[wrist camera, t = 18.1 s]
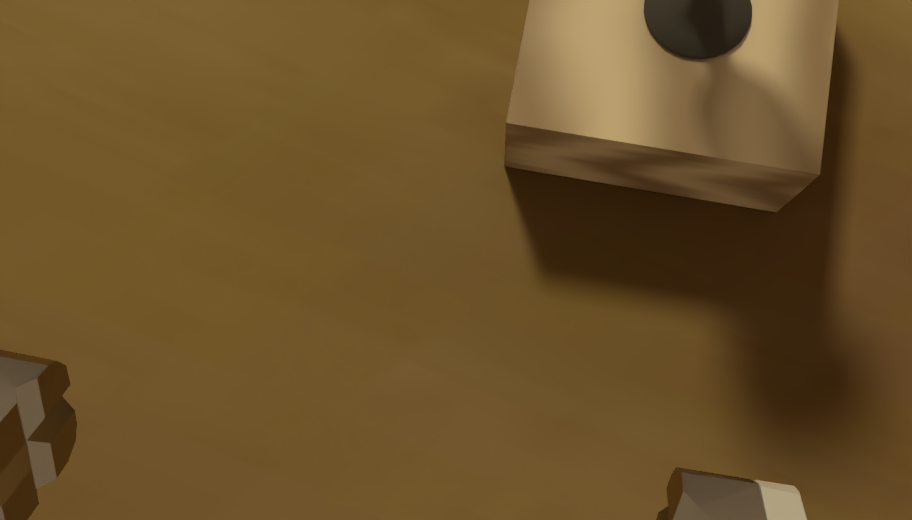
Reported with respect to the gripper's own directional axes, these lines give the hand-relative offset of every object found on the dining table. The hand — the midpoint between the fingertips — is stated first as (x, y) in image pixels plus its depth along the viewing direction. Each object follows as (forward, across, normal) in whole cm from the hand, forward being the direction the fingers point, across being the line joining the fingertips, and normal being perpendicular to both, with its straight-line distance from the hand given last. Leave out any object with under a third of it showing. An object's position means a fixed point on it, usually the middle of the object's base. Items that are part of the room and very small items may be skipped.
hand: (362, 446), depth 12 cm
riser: (+37, -8, +6) cm, 39 cm away
